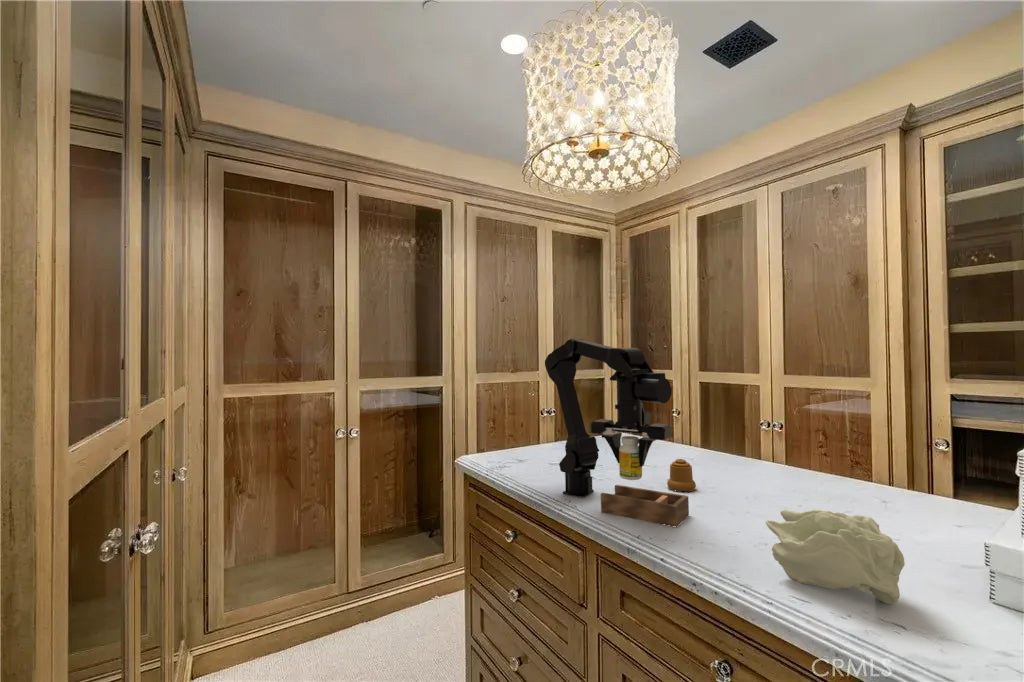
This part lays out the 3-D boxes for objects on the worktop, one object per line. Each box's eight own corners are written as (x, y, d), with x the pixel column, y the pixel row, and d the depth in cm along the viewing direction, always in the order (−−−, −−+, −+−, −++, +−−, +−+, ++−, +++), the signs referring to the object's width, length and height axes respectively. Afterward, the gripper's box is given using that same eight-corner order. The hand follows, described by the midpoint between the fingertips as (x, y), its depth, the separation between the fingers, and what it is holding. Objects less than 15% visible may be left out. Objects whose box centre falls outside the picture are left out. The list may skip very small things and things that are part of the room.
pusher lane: (601, 512, 115) (600, 493, 115) (616, 502, 122) (616, 484, 122) (676, 527, 104) (675, 506, 104) (688, 515, 112) (688, 495, 112)
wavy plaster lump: (797, 620, 80) (745, 529, 84) (842, 582, 85) (791, 499, 90) (903, 630, 64) (832, 518, 69) (949, 583, 70) (881, 482, 74)
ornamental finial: (692, 485, 136) (698, 493, 128) (665, 484, 137) (669, 492, 130) (692, 457, 136) (697, 463, 129) (664, 456, 137) (668, 462, 130)
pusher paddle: (653, 515, 109) (653, 502, 109) (663, 507, 114) (662, 495, 114) (658, 516, 108) (658, 503, 108) (668, 508, 113) (667, 496, 113)
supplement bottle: (630, 473, 119) (629, 434, 119) (647, 478, 115) (646, 438, 115) (614, 476, 116) (614, 437, 116) (631, 481, 112) (631, 440, 112)
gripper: (678, 398, 117) (680, 462, 116) (608, 395, 128) (609, 453, 127) (662, 403, 108) (664, 472, 107) (588, 399, 119) (590, 462, 118)
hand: (630, 464), depth 115 cm, fingers closed on supplement bottle, 5 cm apart
